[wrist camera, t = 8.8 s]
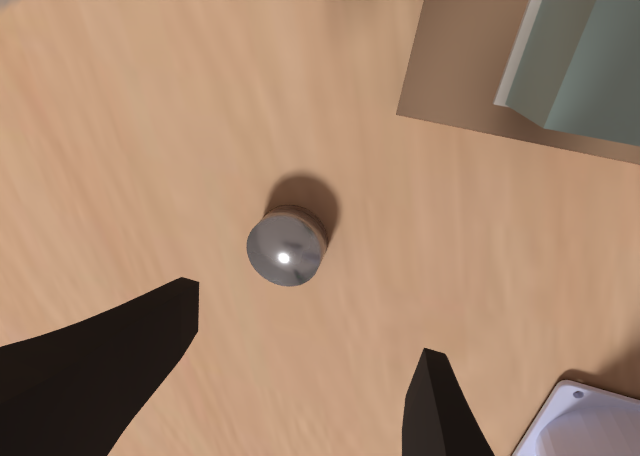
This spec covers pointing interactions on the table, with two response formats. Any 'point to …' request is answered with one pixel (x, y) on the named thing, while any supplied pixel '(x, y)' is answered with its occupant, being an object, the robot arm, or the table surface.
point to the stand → (482, 74)
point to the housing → (582, 70)
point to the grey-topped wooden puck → (287, 245)
